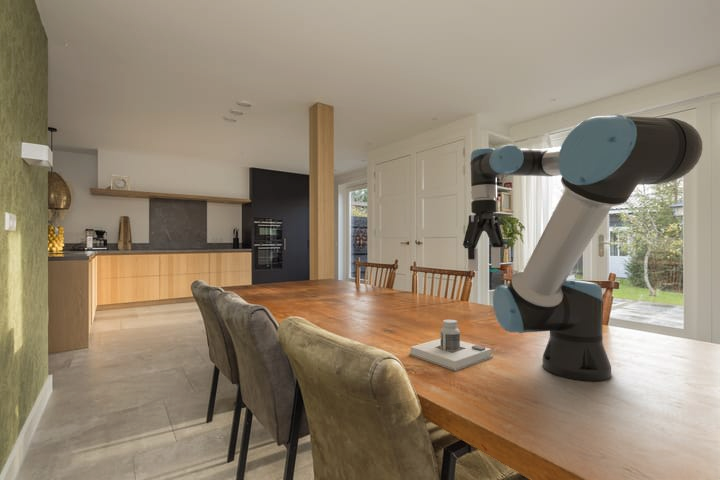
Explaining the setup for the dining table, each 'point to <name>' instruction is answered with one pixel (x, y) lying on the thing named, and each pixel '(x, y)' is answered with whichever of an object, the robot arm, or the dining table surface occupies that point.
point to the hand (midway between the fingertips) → (484, 269)
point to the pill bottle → (450, 336)
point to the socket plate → (451, 354)
